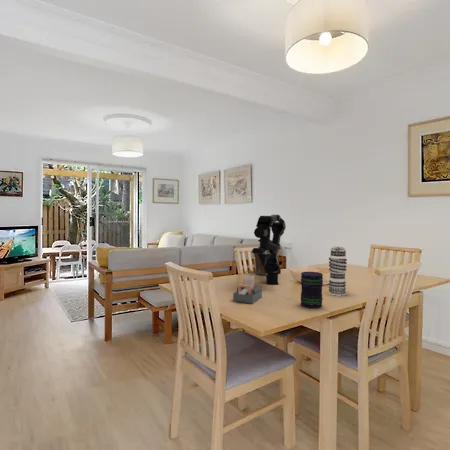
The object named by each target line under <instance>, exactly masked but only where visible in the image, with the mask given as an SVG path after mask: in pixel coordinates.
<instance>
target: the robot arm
mask: <svg viewBox="0 0 450 450" xmlns="http://www.w3.org/2000/svg"><path fill="white" fill-rule="evenodd" d="M255 227H256V228H255V229H254V232H253V233H254V237H256V238H258V241H257V242H258V243H259V246H258V247H253V248H252V251H251V254H254V253H257V254H258V256H259V258H260V261H261V263H262V265H263V266H264V270H265V273H267V275H266V276H265V278H266V279H265V280H266V284H267V285H279V275H281V273H282V271H281V266H280V262H279V260H278V256H279V255H278V254H279V251H280V250H281V244H280V243H281V242H280V241H281V237H282V236H283V235H284V233H285V230H286V227H287V226H286V222H285V220H284V218H282V217H281V215H279V214H271V215H260V216H259V217H258V219H257V223H256V226H255ZM271 232H272V240H271ZM269 252H270V254H269Z"/></svg>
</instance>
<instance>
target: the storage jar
mask: <svg viewBox="0 0 450 450" xmlns="http://www.w3.org/2000/svg"><path fill="white" fill-rule="evenodd" d="M323 276H324V274H323V273H322V272H316V271H302V272H301V276H300V285H301V292H300V306H301V307H303V308H307V309H313V308H315V309H321V308H322V307H323V282H324V278H323ZM320 307H321V308H320Z"/></svg>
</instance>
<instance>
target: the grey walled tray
mask: <svg viewBox="0 0 450 450" xmlns="http://www.w3.org/2000/svg"><path fill="white" fill-rule="evenodd" d="M242 285H245V283H242ZM243 289H245V287H241V290H243ZM232 294H233V295H232V300H233V302H235V303H236V302H237V303H244V304H251V305H253V304H255V303H256V302H258V301H259V300H260V299H262V298H263V289H262V285H258V286H256V287H254V289H253V291H251V294H248V293H247V294H246V295H244V294H239V293H238V286H237V287H236V291H235V292H233V293H232Z"/></svg>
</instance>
